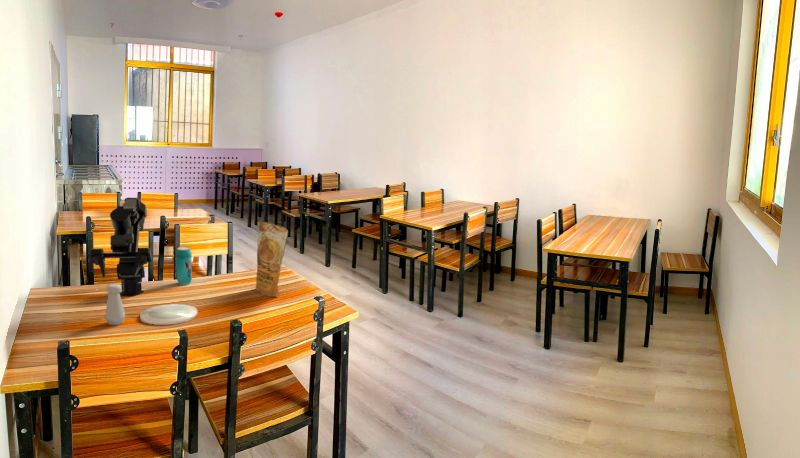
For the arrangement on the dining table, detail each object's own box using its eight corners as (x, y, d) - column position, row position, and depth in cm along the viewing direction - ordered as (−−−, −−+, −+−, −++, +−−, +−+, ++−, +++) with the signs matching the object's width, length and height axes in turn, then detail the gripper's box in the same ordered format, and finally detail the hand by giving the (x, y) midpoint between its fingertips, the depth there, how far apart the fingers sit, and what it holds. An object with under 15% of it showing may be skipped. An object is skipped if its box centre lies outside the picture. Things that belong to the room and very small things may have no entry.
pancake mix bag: (264, 285, 222) (264, 220, 218) (288, 296, 209) (290, 227, 204) (249, 288, 218) (250, 221, 213) (273, 299, 204) (274, 228, 200)
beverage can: (186, 285, 216) (186, 250, 214) (174, 284, 217) (173, 248, 215) (194, 282, 222) (194, 247, 219) (182, 281, 223) (181, 246, 220)
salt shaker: (129, 322, 174) (128, 283, 171) (115, 327, 168) (113, 288, 166) (116, 319, 175) (114, 281, 173) (101, 324, 170) (99, 285, 168)
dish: (127, 319, 175) (127, 316, 175) (166, 304, 192) (166, 301, 192) (172, 328, 170) (172, 324, 170) (208, 311, 187) (208, 308, 187)
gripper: (88, 225, 176) (82, 265, 168) (149, 224, 182) (146, 263, 174) (94, 243, 185) (89, 282, 176) (152, 242, 191) (150, 280, 183)
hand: (118, 276), depth 177 cm, fingers open, 9 cm apart
